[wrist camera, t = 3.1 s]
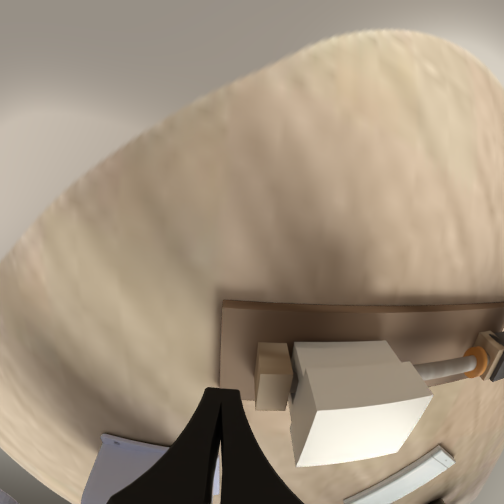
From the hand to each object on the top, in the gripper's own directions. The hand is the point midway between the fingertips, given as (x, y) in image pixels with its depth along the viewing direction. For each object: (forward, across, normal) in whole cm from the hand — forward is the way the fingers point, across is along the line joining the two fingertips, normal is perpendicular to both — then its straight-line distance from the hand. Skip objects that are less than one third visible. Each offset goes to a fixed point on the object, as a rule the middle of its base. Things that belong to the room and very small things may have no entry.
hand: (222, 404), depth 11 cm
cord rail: (+4, -10, 0) cm, 10 cm away
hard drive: (+5, -21, +21) cm, 30 cm away
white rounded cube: (+3, -6, 0) cm, 6 cm away
